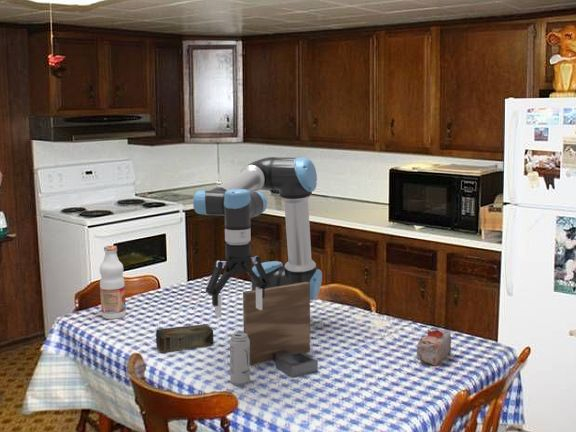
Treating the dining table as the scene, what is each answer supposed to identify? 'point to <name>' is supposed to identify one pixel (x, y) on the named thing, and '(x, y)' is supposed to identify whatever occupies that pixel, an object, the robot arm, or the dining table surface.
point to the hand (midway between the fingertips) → (239, 312)
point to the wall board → (278, 321)
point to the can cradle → (295, 363)
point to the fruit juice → (112, 285)
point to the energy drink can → (239, 359)
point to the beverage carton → (184, 337)
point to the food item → (434, 347)
